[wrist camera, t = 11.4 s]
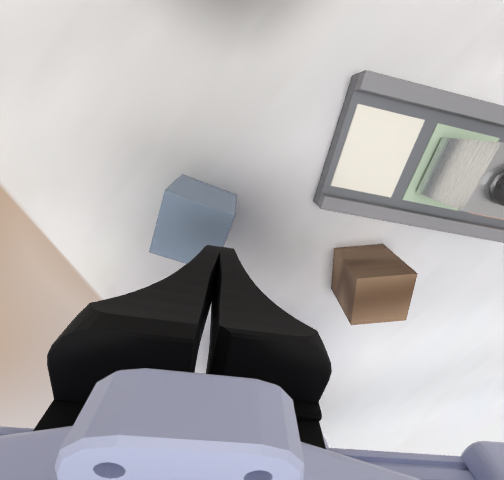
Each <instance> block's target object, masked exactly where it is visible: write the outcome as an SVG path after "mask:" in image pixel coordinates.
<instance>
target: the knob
mask: <svg viewBox="0 0 504 480" xmlns="http://www.w3.org/2000/svg"><path fill="white" fill-rule="evenodd" d="M416 192H417V193H419V194H422V195H424V196H427V197H429V198H432V199H434V200H436V201H439V202H441V203H444V204H446V205H449V206H451V207H454V208H456V209H458V210H461V211H465V212H470V213H475V214H480V215H485V216H490V217H495V218H500V219H504V143H503V142H492V141H480V140H468V139H456V138H444V137H442V139H441V141H440V143H439V145H438V147H437V149H436V151H435V154H434V156H433V158H432V160H431V162H430V164H429V166H428V168H427V170H426V172H425V174H424V177H423V179H422V181H421V183H420V185H419V187H418V189H417V191H416Z"/></svg>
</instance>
